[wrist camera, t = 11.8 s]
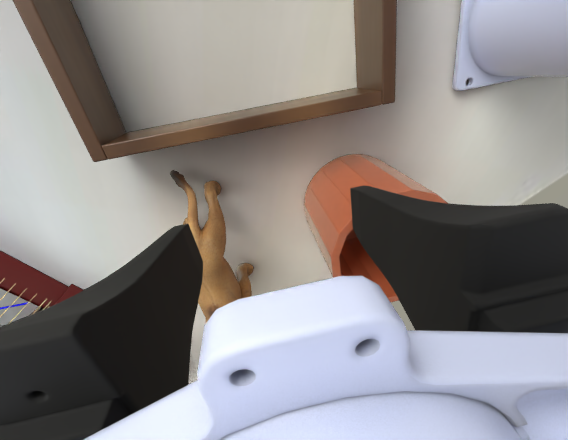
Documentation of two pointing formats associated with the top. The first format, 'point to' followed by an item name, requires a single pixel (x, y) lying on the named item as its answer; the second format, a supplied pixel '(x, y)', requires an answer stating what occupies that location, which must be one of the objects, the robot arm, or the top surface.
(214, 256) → the lion figurine
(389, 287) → the cup
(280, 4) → the top surface
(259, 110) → the wooden frame
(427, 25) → the top surface
